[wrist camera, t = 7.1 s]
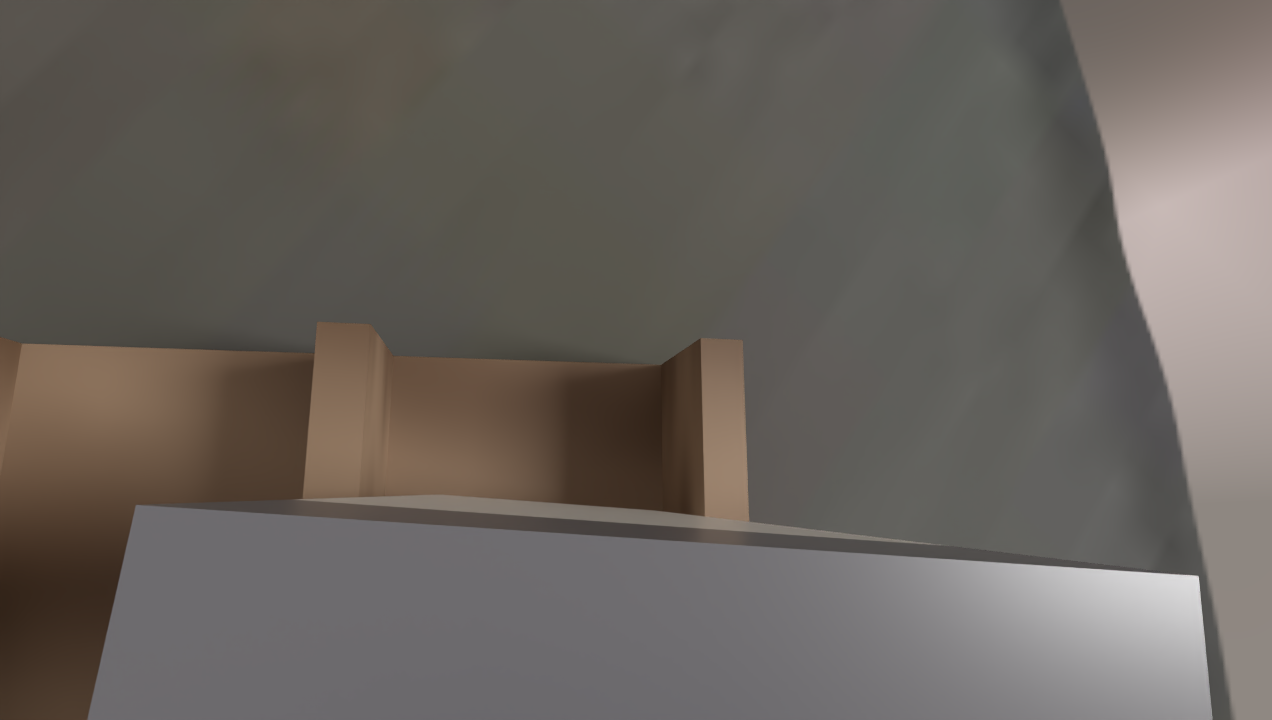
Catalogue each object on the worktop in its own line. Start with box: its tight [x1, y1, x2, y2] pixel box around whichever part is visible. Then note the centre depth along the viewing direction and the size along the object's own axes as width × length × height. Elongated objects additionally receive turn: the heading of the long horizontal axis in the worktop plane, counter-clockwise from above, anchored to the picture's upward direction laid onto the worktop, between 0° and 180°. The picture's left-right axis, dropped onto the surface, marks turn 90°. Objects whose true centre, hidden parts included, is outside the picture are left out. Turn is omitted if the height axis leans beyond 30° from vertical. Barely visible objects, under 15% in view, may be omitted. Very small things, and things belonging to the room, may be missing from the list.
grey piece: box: [87, 494, 1212, 720], centre depth 9 cm, size 5×5×13 cm
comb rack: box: [0, 322, 749, 720], centre depth 14 cm, size 12×25×4 cm, turn 90°
